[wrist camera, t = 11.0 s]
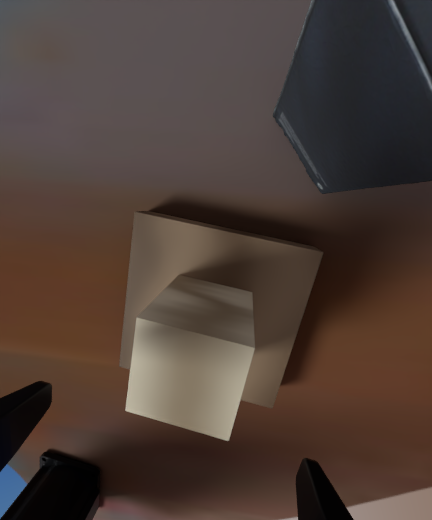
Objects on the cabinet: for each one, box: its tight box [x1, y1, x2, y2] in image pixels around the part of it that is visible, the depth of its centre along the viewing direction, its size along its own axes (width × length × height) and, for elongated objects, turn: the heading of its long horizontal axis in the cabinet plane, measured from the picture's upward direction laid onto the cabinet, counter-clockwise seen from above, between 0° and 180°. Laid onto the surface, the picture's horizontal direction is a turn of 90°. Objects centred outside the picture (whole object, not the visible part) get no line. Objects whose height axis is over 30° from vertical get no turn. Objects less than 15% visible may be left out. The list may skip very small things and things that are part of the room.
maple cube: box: [125, 275, 255, 441], centre depth 13 cm, size 5×5×6 cm
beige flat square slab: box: [119, 211, 324, 408], centre depth 17 cm, size 12×12×2 cm
